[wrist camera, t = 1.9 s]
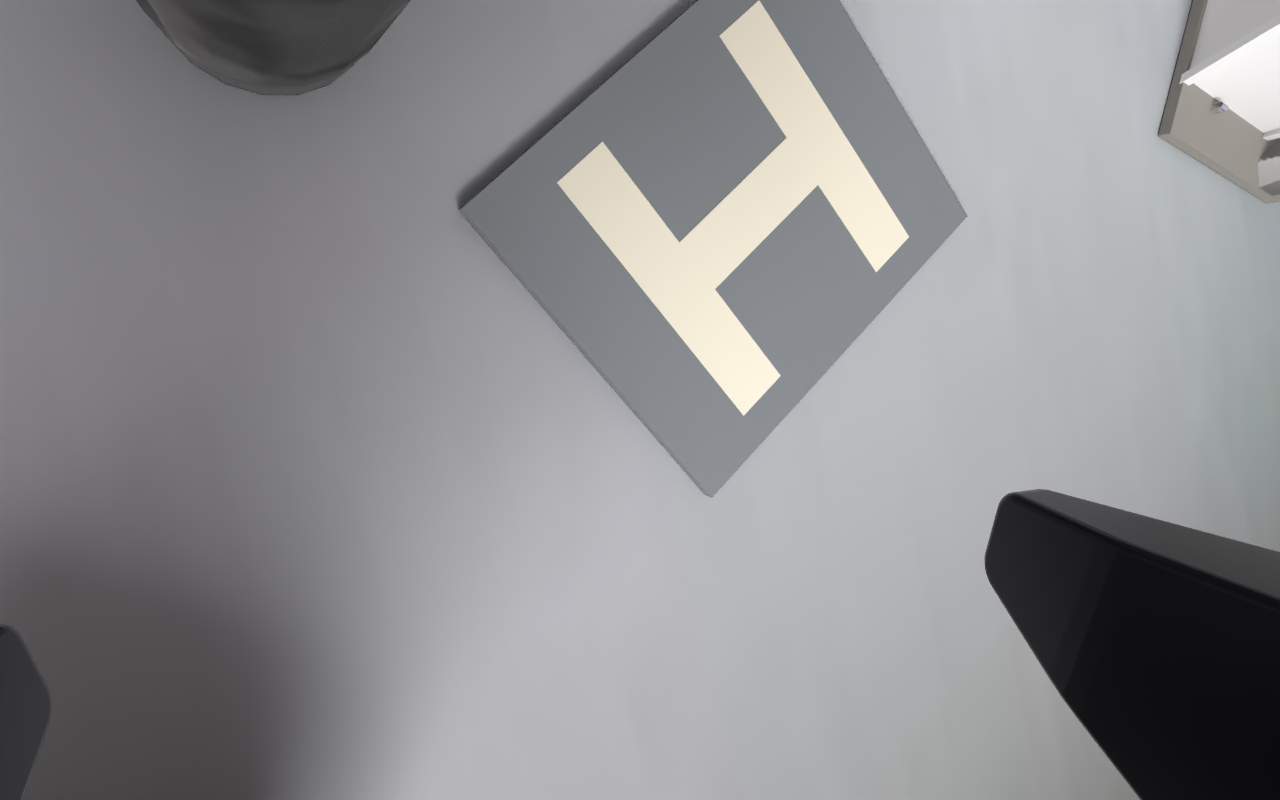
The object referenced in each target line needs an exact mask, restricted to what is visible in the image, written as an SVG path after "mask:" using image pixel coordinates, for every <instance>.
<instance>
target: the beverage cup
mask: <svg viewBox="0 0 1280 800" xmlns="http://www.w3.org/2000/svg"><path fill="white" fill-rule="evenodd" d="M136 1H137V2H138V3H139V5H140V6H141V8H142V9H143V11H144V12H145V13H146V14H147V15H148V16H149V17H150V18H151V19H152V20H153V22H154V23H155V24H156V25H157V26H158V27H159V28H160V29H161V30H162V31H163V33H164V34H165V35H166V36H167V37H168V38H169V39H170V40H171V41H172V42H173V43H174V44H175V46H176V47H177V48H178V49H179V50H180V51H181V52H182V53H183V54H184V55H185V56H186V57H187V58H188V59H189V61H190V62H191V63H193V64H194V65H196V66H198V67H199V68H201V69H202V70H204V71H206V72H207V73H209V74H210V75H212V76H214V77H215V78H217V79H218V80H220V81H222V82H223V83H225V84H228V85H231V86H234V87H238V88H241V89H244V90H248V91H251V92H254V93H258V94H261V95H299V94H302V93H305V92H308V91H311V90H314V89H317V88H320V87H323V86H326V85H329V84H330V83H332V82H333V81H334V80H335V79H337V78H338V77H339V76H340V75H342V74H343V73H344V72H345V71H347V70H348V69H349V68H351V67H352V66H353V65H354V63H355V62H357V61H358V60H359V59H360V58H362V57H363V56H364V55H365V54H367V53H368V52H369V51H370V50H371V49H372V47H373V46H374V45H375V44H376V42H377V41H378V40H379V39H380V37H381V36H382V35H383V34H384V32H385V31H386V30H387V29H388V28H389V26H390V25H391V24H392V23H393V21H394V20H395V19H396V18H397V16H398V15H399V14H400V13H401V11H402V10H403V9H404V8H405V6H406V5H407V4H408V3H409V2H410V0H136Z"/></svg>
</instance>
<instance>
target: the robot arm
mask: <svg viewBox="0 0 1280 800" xmlns="http://www.w3.org/2000/svg"><path fill="white" fill-rule="evenodd" d="M985 569H986V574H987V577H988V579H989V582H990V584H991V586H992V587H993V589H994V590H995V592H996V594H997V595H998V597H999V599H1000V600H1001V602H1002V603H1003V605H1004V607H1005V608H1006V610H1007V611H1008V613H1009V615H1010V616H1011V618H1012V619H1013V621H1014V623H1015V624H1016V626H1017V627H1018V629H1019V631H1020V632H1021V634H1022V635H1023V637H1024V639H1025V640H1026V642H1027V643H1028V645H1029V647H1030V648H1031V650H1032V651H1033V653H1034V655H1035V656H1036V658H1037V659H1038V661H1039V663H1040V664H1041V666H1042V667H1043V669H1044V671H1045V672H1046V674H1047V675H1048V677H1049V678H1050V680H1051V681H1052V683H1053V684H1054V686H1055V687H1056V689H1057V690H1058V692H1059V693H1060V695H1061V697H1062V698H1063V699H1064V701H1065V702H1066V703H1067V705H1068V706H1069V707H1070V709H1071V710H1072V712H1073V713H1074V714H1075V716H1076V717H1077V718H1078V720H1079V721H1080V722H1081V724H1082V725H1083V726H1084V727H1085V729H1086V730H1087V731H1088V733H1089V734H1090V735H1091V736H1092V738H1093V739H1094V740H1095V742H1096V743H1097V744H1098V745H1099V747H1100V748H1101V749H1102V751H1103V752H1104V753H1105V754H1106V756H1107V757H1108V758H1109V760H1110V761H1111V762H1112V763H1113V765H1114V766H1115V767H1116V769H1117V770H1118V771H1119V773H1120V774H1121V775H1122V776H1123V778H1124V779H1125V780H1126V782H1127V783H1128V784H1129V785H1130V787H1131V788H1132V789H1133V791H1134V792H1135V793H1136V794H1137V796H1138V797H1139V798H1140V800H1280V552H1277V551H1274V550H1270V549H1266V548H1262V547H1259V546H1255V545H1251V544H1247V543H1244V542H1240V541H1236V540H1233V539H1229V538H1225V537H1221V536H1218V535H1214V534H1210V533H1206V532H1203V531H1199V530H1195V529H1192V528H1188V527H1184V526H1180V525H1177V524H1173V523H1169V522H1165V521H1162V520H1158V519H1154V518H1151V517H1147V516H1143V515H1139V514H1136V513H1132V512H1128V511H1124V510H1121V509H1117V508H1113V507H1110V506H1106V505H1102V504H1098V503H1095V502H1091V501H1087V500H1083V499H1080V498H1076V497H1072V496H1069V495H1065V494H1061V493H1057V492H1054V491H1050V490H1043V489H1036V490H1028V491H1020V492H1012V493H1009V494H1007V495H1006V496H1004V497H1003V498H1002V500H1001V501H1000V503H999V505H998V509H997V512H996V516H995V520H994V523H993V527H992V531H991V534H990V538H989V542H988V545H987V549H986V553H985ZM51 711H52V709H51V697H50V692H49V689H48V687H47V685H46V683H45V681H44V679H43V677H42V675H41V673H40V672H39V670H38V668H37V666H36V664H35V662H34V660H33V658H32V656H31V654H30V653H29V651H28V649H27V647H26V645H25V643H24V641H23V639H22V637H21V636H20V634H19V633H18V631H16V630H15V629H14V628H13V627H11V626H8V625H5V624H0V800H22V798H23V795H24V793H25V790H26V787H27V784H28V782H29V779H30V776H31V773H32V770H33V768H34V765H35V762H36V759H37V757H38V754H39V751H40V748H41V746H42V743H43V740H44V737H45V735H46V732H47V729H48V726H49V722H50V718H51Z"/></svg>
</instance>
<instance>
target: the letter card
mask: <svg viewBox="0 0 1280 800" xmlns="http://www.w3.org/2000/svg"><path fill="white" fill-rule="evenodd" d="M459 211H460V212H461V213H462V215H463V216H464V217H465V218H466V219H467V220H468V222H469V223H470V224H471V225H472V226H473V227H474V229H475V230H476V231H477V232H478V233H479V234H480V235H481V237H482V238H483V239H484V240H485V241H486V242H487V244H488V245H489V246H490V247H491V248H492V249H493V250H494V252H495V253H496V254H497V255H498V256H499V257H500V259H501V260H502V261H503V262H504V263H505V264H506V265H507V267H508V268H509V269H510V270H511V271H512V272H513V274H514V275H515V276H516V277H517V278H518V279H519V280H520V282H521V283H522V284H523V285H524V286H525V287H526V289H527V290H528V291H529V292H530V293H531V294H532V296H533V297H534V298H535V299H536V300H537V301H538V302H539V304H540V305H541V306H542V307H543V308H544V309H545V311H546V312H547V313H548V314H549V315H550V316H551V317H552V319H553V320H554V321H555V322H556V323H557V324H558V326H559V327H560V328H561V329H562V330H563V331H564V332H565V334H566V335H567V336H568V337H569V338H570V339H571V341H572V342H573V343H574V344H575V345H576V346H577V347H578V349H579V350H580V351H581V352H582V353H583V354H584V356H585V357H586V358H587V359H588V360H589V361H590V363H591V364H592V365H593V366H594V367H595V368H596V369H597V371H598V372H599V373H600V374H601V375H602V376H603V378H604V379H605V380H606V381H607V382H608V383H609V384H610V386H611V387H612V388H613V389H614V390H615V391H616V393H617V394H618V395H619V396H620V397H621V398H622V399H623V401H624V402H625V403H626V404H627V405H628V406H629V408H630V409H631V410H632V411H633V412H634V413H635V414H636V416H637V417H638V418H639V419H640V420H641V421H642V423H643V424H644V425H645V426H646V427H647V428H648V430H649V431H650V432H651V433H652V434H653V435H654V436H655V438H656V439H657V440H658V441H659V442H660V443H661V445H662V446H663V447H664V448H665V449H666V450H667V451H668V453H669V454H670V455H671V456H672V457H673V458H674V460H675V461H676V462H677V463H678V464H679V465H680V466H681V468H682V469H683V470H684V471H685V472H686V473H687V475H688V476H689V477H690V478H691V479H692V480H693V481H694V483H695V484H696V485H697V486H698V487H699V488H700V490H701V491H702V492H703V493H704V494H705V495H707V496H709V497H713V496H714V495H715V494H716V493H717V492H718V491H719V489H720V488H721V487H722V486H723V485H724V484H725V483H726V482H727V481H728V480H729V478H730V477H731V476H732V475H733V474H734V473H735V472H736V471H737V470H738V468H739V467H740V466H741V465H742V464H743V463H744V462H745V461H746V460H747V459H748V457H749V456H750V455H751V454H752V453H753V452H754V451H755V450H756V449H757V448H758V446H759V445H760V444H761V443H762V442H763V441H764V440H765V439H766V438H767V437H768V435H769V434H770V433H771V432H772V431H773V430H774V429H775V428H776V427H777V425H778V424H779V423H780V422H781V421H782V420H783V419H784V418H785V417H786V416H787V414H788V413H789V412H790V411H791V410H792V409H793V408H794V407H795V406H796V405H797V403H798V402H799V401H800V400H801V399H802V398H803V397H804V396H805V395H806V394H807V392H808V391H809V390H810V389H811V388H812V387H813V386H814V385H815V384H816V383H817V381H818V380H819V379H820V378H821V377H822V376H823V375H824V374H825V373H826V371H827V370H828V369H829V368H830V367H831V366H832V365H833V364H834V363H835V362H836V360H837V359H838V358H839V357H840V356H841V355H842V354H843V353H844V352H845V351H846V349H847V348H848V347H849V346H850V345H851V344H852V343H853V342H854V341H855V340H856V338H857V337H858V336H859V335H860V334H861V333H862V332H863V331H864V330H865V329H866V327H867V326H868V325H869V324H870V323H871V322H872V321H873V320H874V319H875V317H876V316H877V315H878V314H879V313H880V312H881V311H882V310H883V309H884V308H885V306H886V305H887V304H888V303H889V302H890V301H891V300H892V299H893V298H894V297H895V295H896V294H897V293H898V292H899V291H900V290H901V289H902V288H903V287H904V286H905V284H906V283H907V282H908V281H909V280H910V279H911V278H912V277H913V276H914V275H915V273H916V272H917V271H918V270H919V269H920V268H921V267H922V266H923V265H924V263H925V262H926V261H927V260H928V259H929V258H930V257H931V256H932V255H933V254H934V252H935V251H936V250H937V249H938V248H939V247H940V246H941V245H942V244H943V243H944V241H945V240H946V239H947V238H948V237H949V236H950V235H951V234H952V233H953V232H954V230H955V229H956V228H957V227H958V226H959V225H960V224H961V223H962V222H963V221H964V219H965V218H966V217H967V214H966V212H965V211H964V209H963V207H962V206H961V204H960V202H959V201H958V199H957V197H956V196H955V194H954V192H953V190H952V189H951V187H950V185H949V184H948V182H947V180H946V179H945V177H944V175H943V174H942V172H941V170H940V169H939V167H938V165H937V164H936V162H935V160H934V159H933V157H932V155H931V154H930V152H929V150H928V148H927V147H926V145H925V143H924V142H923V140H922V138H921V137H920V135H919V133H918V132H917V130H916V128H915V127H914V125H913V123H912V122H911V120H910V118H909V117H908V115H907V113H906V111H905V110H904V108H903V106H902V105H901V103H900V101H899V100H898V98H897V96H896V95H895V93H894V91H893V90H892V88H891V86H890V85H889V83H888V81H887V80H886V78H885V76H884V75H883V73H882V71H881V69H880V68H879V66H878V64H877V63H876V61H875V59H874V58H873V56H872V54H871V53H870V51H869V49H868V48H867V46H866V44H865V43H864V41H863V39H862V38H861V36H860V34H859V33H858V31H857V29H856V27H855V26H854V24H853V22H852V21H851V19H850V17H849V16H848V14H847V12H846V11H845V9H844V7H843V6H842V4H841V2H840V1H839V0H697V1H696V2H695V3H694V4H693V5H691V6H690V7H689V8H688V9H687V10H686V11H685V12H684V13H682V14H681V15H680V16H679V17H678V18H677V19H676V20H674V21H673V22H672V23H671V24H670V25H669V26H668V27H666V28H665V29H664V30H663V31H662V32H661V33H660V34H658V35H657V36H656V37H655V38H654V39H653V40H652V41H651V42H649V43H648V44H647V45H646V46H645V47H644V48H643V49H641V50H640V51H639V52H638V53H637V54H636V55H635V56H633V57H632V58H631V59H630V60H629V61H628V62H627V63H626V64H624V65H623V66H622V67H621V68H620V69H619V70H618V71H616V72H615V73H614V74H613V75H612V76H611V77H610V78H608V79H607V80H606V81H605V82H604V83H603V84H602V85H600V86H599V87H598V88H597V89H596V90H595V91H594V92H593V93H591V94H590V95H589V96H588V97H587V98H586V99H585V100H583V101H582V102H581V103H580V104H579V105H578V106H577V107H575V108H574V109H573V110H572V111H571V112H570V113H569V114H568V115H566V116H565V117H564V118H563V119H562V120H561V121H560V122H558V123H557V124H556V125H555V126H554V127H553V128H552V129H550V130H549V131H548V132H547V133H546V134H545V135H544V136H543V137H541V138H540V139H539V140H538V141H537V142H536V143H535V144H533V145H532V146H531V147H530V148H529V149H528V150H527V151H525V152H524V153H523V154H522V155H521V156H520V157H519V158H517V159H516V160H515V161H514V162H513V163H512V164H511V165H510V166H508V167H507V168H506V169H505V170H504V171H503V172H502V173H500V174H499V175H498V176H497V177H496V178H495V179H494V180H492V181H491V182H490V183H489V184H488V185H487V186H486V187H485V188H483V189H482V190H481V191H480V192H479V193H478V194H477V195H475V196H474V197H473V198H472V199H471V200H470V201H469V202H467V203H466V204H465V205H464V206H463V207H462V208H461V209H459Z"/></svg>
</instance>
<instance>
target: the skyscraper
mask: <svg viewBox="0 0 1280 800" xmlns="http://www.w3.org/2000/svg"><path fill="white" fill-rule="evenodd" d="M1158 136H1159V137H1161V138H1162V139H1164V140H1165V141H1167V142H1169V143H1170V144H1172V145H1173V146H1175V147H1177V148H1178V149H1180V150H1182V151H1183V152H1185V153H1186V154H1188V155H1190V156H1191V157H1193V158H1194V159H1196V160H1198V161H1199V162H1201V163H1202V164H1204V165H1206V166H1207V167H1209V168H1210V169H1212V170H1214V171H1215V172H1217V173H1218V174H1220V175H1222V176H1223V177H1225V178H1226V179H1228V180H1230V181H1231V182H1233V183H1234V184H1236V185H1238V186H1239V187H1241V188H1243V189H1244V190H1246V191H1247V192H1249V193H1251V194H1252V195H1254V196H1255V197H1257V198H1259V199H1260V200H1262V201H1263V202H1265V203H1276V202H1279V201H1280V0H1193V2H1192V6H1191V10H1190V14H1189V18H1188V22H1187V26H1186V30H1185V33H1184V37H1183V41H1182V45H1181V49H1180V53H1179V57H1178V60H1177V64H1176V68H1175V72H1174V76H1173V80H1172V84H1171V88H1170V91H1169V95H1168V99H1167V103H1166V107H1165V111H1164V115H1163V119H1162V122H1161V126H1160V130H1159V134H1158Z"/></svg>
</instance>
